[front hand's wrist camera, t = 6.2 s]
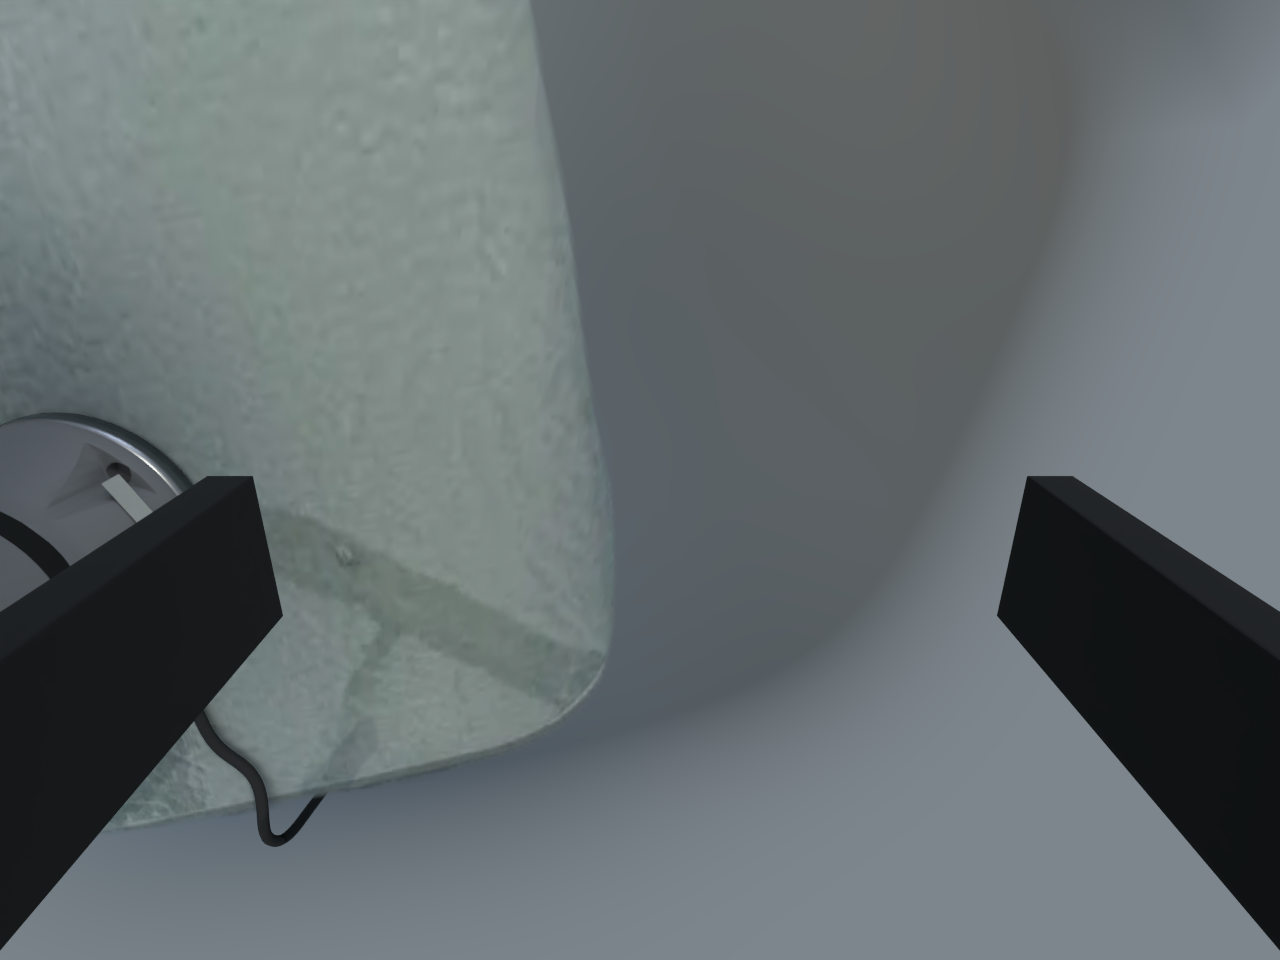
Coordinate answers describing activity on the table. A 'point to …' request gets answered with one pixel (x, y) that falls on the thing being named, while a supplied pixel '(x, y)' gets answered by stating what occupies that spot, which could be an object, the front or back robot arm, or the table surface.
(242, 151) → the table surface
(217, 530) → the front robot arm
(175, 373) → the table surface
